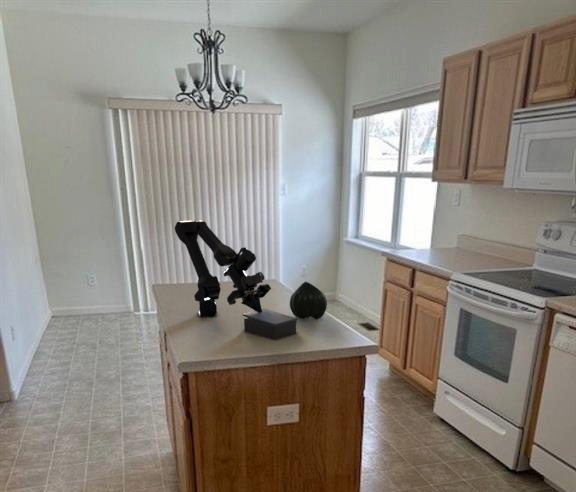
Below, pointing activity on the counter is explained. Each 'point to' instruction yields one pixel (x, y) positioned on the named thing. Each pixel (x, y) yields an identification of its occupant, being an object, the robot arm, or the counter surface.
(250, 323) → the case
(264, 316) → the cover
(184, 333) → the counter surface
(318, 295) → the squash
